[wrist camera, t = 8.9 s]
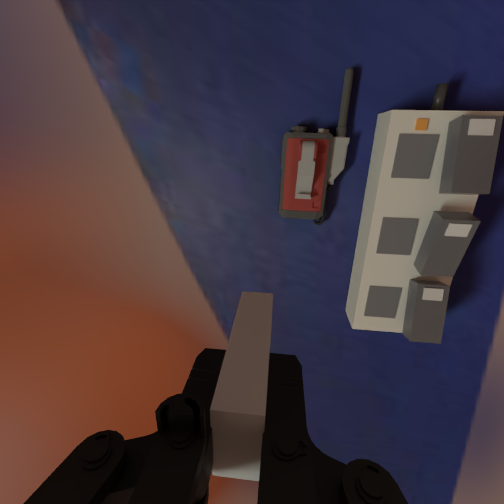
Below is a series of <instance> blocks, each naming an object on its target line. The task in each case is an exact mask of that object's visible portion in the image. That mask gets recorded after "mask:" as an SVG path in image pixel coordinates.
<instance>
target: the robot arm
mask: <svg viewBox="0 0 504 504" xmlns="http://www.w3.org/2000/svg"><path fill="white" fill-rule="evenodd" d="M272 304H273V294H270V293H256V292H242V295H241V298H240V302H239V305H238V309H237V313H236V316H235V320H234V324H233V327H232V331H231V335H230V338H229V342H228V346H227V349H226V350H220V349H209V348H205V349H204V350H203V351H202V352H201V353H200V354H199V355H198V356H197V357H196V360H195V363H194V365H193V368H192V370H191V372H190V375H189V378H188V380H187V382H186V385H185V387H184V390H183V392H182V394H176V395H174V396H171V397H169V398H167V399H166V400H165V401H163V402H162V403H161V404H160V405H159V407H158V408H157V410H156V411H155V413H156V420H157V428H158V431H157V432H155V433H153V434H150V435H147V436H143V437H139V438H134V439H129V440H124V438H123V436H122V435H121V434H120V433H118V432H117V431H112V430H106V431H101V432H97V433H95V434H93V435H91V436H89V437H87V438H86V439H85V440H84V441H83V442H82V443H80V444H79V445H78V446H77V447H76V448H75V449H74V450H73V451H72V453H70V455H69V456H68V457H67V458H66V459H65V460H64V461H63V462H62V463H61V464H60V465H59V466H58V467H57V468H56V469H55V471H54V472H53V473H52V474H51V475H50V476H49V477H48V478H47V479H46V480H45V481H44V482H43V483H42V484H41V486H40V487H39V488H38V489H37V490H36V491H35V492H34V493H33V494H32V495H31V496H30V497H29V499H28V500H27V501H26V502H25V503H24V504H207V503H208V496H209V485H208V484H209V480H210V475H211V471H212V470H213V475H215V476H223V477H230V478H238V479H246V480H254V481H259V489H258V503H257V504H408V503H407V501H406V499H405V497H404V496H403V494H402V492H401V490H400V488H399V486H398V485H397V483H396V482H395V480H394V479H393V478H392V476H391V475H390V473H389V472H387V471H386V470H385V469H384V468H383V467H381V466H380V465H379V464H377V463H375V462H372V461H370V460H367V459H356V460H353V461H351V462H349V463H348V465H346V464H344V463H342V462H339V461H337V460H335V459H333V458H331V457H329V456H327V455H326V454H324V453H322V452H321V451H320V450H319V449H318V448H317V447H316V446H315V445H314V443H313V442H312V441H311V439H310V437H309V434H308V431H307V425H306V413H305V402H304V390H303V380H302V366H301V364H300V362H299V361H298V359H297V358H296V356H295V355H286V354H275V353H270V339H271V321H272Z"/></svg>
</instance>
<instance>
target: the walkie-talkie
mask: <svg viewBox="0 0 504 504" xmlns="http://www.w3.org/2000/svg"><path fill="white" fill-rule="evenodd" d="M353 74H354V70H353V68H348V69H346V71H345V77H344V85H343V92H342V99H341V107H340V114H339V121H338V127H337V129H336V136H335V137H333V135H332V134H330V133H329V129H318V132H317V133H304V131H306V130H307V127H305V126H292V127H291V130H292V131H293V132H286V133H285V135H284V139H282V147H283V150H282V155H281V161H280V162H282V166H281V170H282V171H281V174H282V175H281V181H280V182H281V183H280V195H279V208H278V212H279V213H280V215H281V216H282V217H286V218H302V219H313V222H314V223H315V224H317V225H320V224H322V223H323V221H324V217H325V210H326V202H327V196H328V191H329V189H330V188H331V184H333V183H334V179H335V178H336V177H337V176H338V175H339V173H340V172H341V171H342V170H343V169H344V166H345V159H346V153H347V147H348V144H349V141H350V138H346V131H347V127H346V123H347V116H348V109H349V102H350V95H351V88H352V81H353ZM327 182H328V183H327ZM327 184H328V187H326V186H327ZM321 216H322V217H321ZM320 217H321V220H320V221H319V222H318V221H316V219H319V218H320Z"/></svg>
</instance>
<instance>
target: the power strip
mask: <svg viewBox="0 0 504 504" xmlns="http://www.w3.org/2000/svg"><path fill="white" fill-rule="evenodd" d="M448 85H449V84H448V83H443V84H437V86H436V90H435V95H434V99H433V104H432V108H431V110H390V111H387V112H384V113H380V114H378V119H377V125H376V131H375V137H374V143H373V149H372V155H371V161H370V167H369V173H368V179H367V185H366V191H365V197H364V203H363V209H362V215H361V221H360V227H359V233H358V239H357V245H356V250H355V256H354V262H353V268H352V274H351V280H350V286H349V292H348V298H347V304H346V310H345V311H346V313H347V316H348V319H349V321H350V324H351V327H352V329H362V330H375V331H387V332H400V333H402V331H403V324H404V317H405V309H406V302H407V295H408V288H409V280H425V281H440V282H442V283H444V284H446V285H449V286H450V285H451V282H452V278H453V277H443V276H427V275H420V274H419V272H418V271H417V269H416V268H415V266H414V265H413V264H414V262H415V259H416V256H417V254H418V251H419V249H420V246H421V243H422V241H423V238H424V236H425V233H426V230H427V228H428V225H429V223H430V220H431V218H432V215H433V212H434V211H456V212H470V213H471V214H473V211H474V208H475V205H476V201H477V198H478V195H465V194H439V188H440V181H441V174H442V167H443V160H444V154H445V147H446V140H447V133H448V126H449V122H450V121H452V120H454V119H456V118H458V117H460V116H462V115H491V116H503V115H504V111H442V110H443V106H444V102H445V98H446V94H447V90H448Z"/></svg>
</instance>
